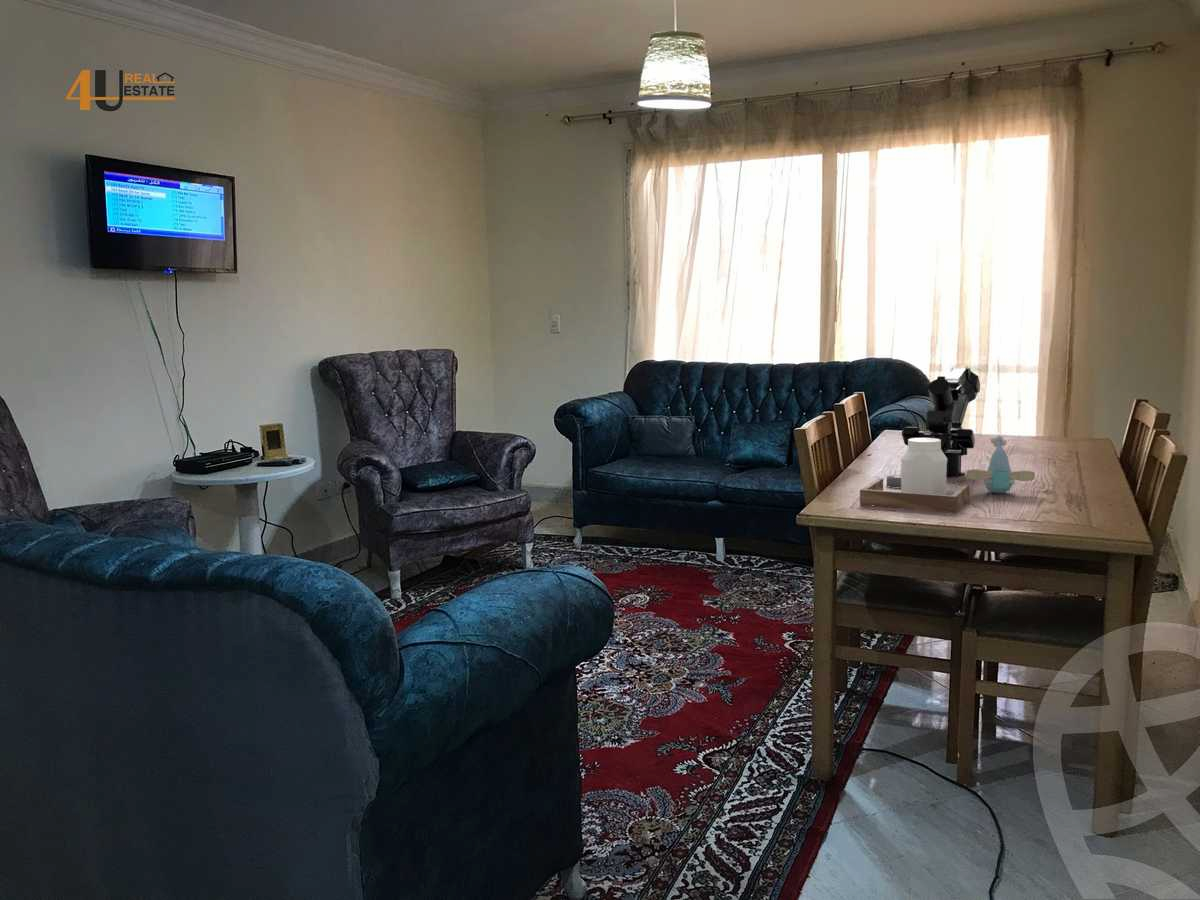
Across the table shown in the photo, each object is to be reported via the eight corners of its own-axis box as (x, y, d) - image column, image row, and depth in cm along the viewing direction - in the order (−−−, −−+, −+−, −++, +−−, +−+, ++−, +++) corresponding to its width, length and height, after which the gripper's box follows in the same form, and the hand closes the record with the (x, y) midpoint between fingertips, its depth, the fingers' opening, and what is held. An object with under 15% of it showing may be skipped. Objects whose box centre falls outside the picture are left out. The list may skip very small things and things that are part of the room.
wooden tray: (878, 492, 258) (878, 478, 257) (969, 499, 245) (969, 483, 245) (859, 505, 243) (859, 489, 242) (955, 512, 230) (955, 496, 230)
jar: (898, 498, 250) (899, 441, 248) (902, 491, 259) (903, 436, 256) (944, 500, 245) (946, 443, 243) (947, 493, 254) (948, 437, 252)
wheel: (897, 483, 270) (897, 474, 269) (913, 486, 265) (913, 477, 264) (882, 485, 267) (882, 476, 267) (898, 488, 262) (898, 479, 261)
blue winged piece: (1030, 490, 254) (1032, 434, 252) (1034, 497, 244) (1036, 440, 242) (964, 488, 260) (965, 434, 257) (965, 495, 250) (966, 439, 247)
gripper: (903, 398, 266) (893, 442, 259) (973, 399, 257) (965, 446, 249) (910, 422, 274) (900, 466, 267) (978, 424, 265) (970, 470, 257)
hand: (932, 461), depth 260 cm, fingers closed
